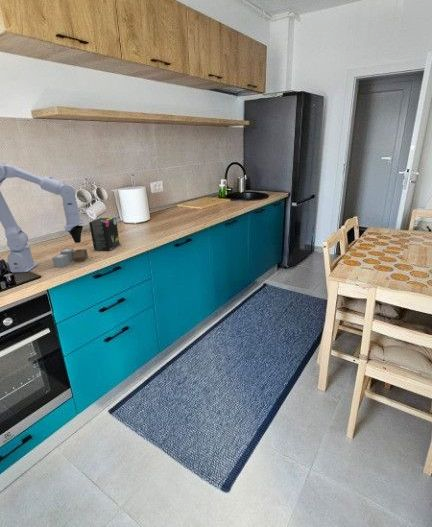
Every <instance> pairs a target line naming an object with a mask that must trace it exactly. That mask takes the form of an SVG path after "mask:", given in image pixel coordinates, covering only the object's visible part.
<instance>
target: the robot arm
mask: <svg viewBox="0 0 432 527" xmlns="http://www.w3.org/2000/svg"><path fill="white" fill-rule="evenodd" d="M13 178H18V179H22V180H24V181H27V182H30V183H33V184H35V185H38V186H39V187H40V189H42V191H46V192H49V193H51V194H54V195H57V196H58V195H59V196H60V197H61V199H62V207H63V211H64V216H65V220H66V224H65V226H64V231H65V232H68V233H69V234H70V236H71V237H72V239H73V242H74V243H75V244H80V243H81V242H82V241H81V240H82V231H83V229H84V226H83V225H84V220H83V218H81V217H80V210H79V206H78V201H77V197H76V189H75V188H74V186H73V185H71V184H70V183H66V182H65V181H59V180H57V179H56V178H54V177H53V176H51V175H49V176H48V175H47V176H46V175H45V176H43V177H42V176H39V175H37V174H34V173H32V172H30V171H27V170H25V169H24V168H23V169H22V168H20V167H17V166H15V165H13V164H6V163H4V162H1V161H0V187H1V186H2V184H3V182H4V181H5V180H6V179H13ZM5 199H6V198H4V196H3V194H2V191H1V190H0V224H1V225H2V227H3V229H4V235H5V238H6V245H7V246H8V248H9V250H10V252H9V254H7V260H6V261H7V262H8V267H9V271H11V272H12V273H27V272H29V271H31V270H33V269H34V268H36V267H37V266H39V263H37V262H34V258H33V253H32V252H31V250H32V249H31V246H30V245H29V244H28V242H29V235H27V233H25V232H24V231H23V229H22V228H21V226H19V224H18V223H17V221H16V219H15V217H14V215H13V213H12V211H11V209H10V208H9V205H8V203H7V201H6V200H5Z"/></svg>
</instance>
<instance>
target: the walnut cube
mask: <svg viewBox="0 0 432 527" xmlns="http://www.w3.org/2000/svg"><path fill="white" fill-rule="evenodd" d="M73 256H74V259H73V261H74V262H75V263H80V261H82V262H86V261H85V260H86V259H87V260H88V259H89V255H88V250H87V248H85V249H84V248H83V249H81V248H80V249H75V250H74V252H73Z"/></svg>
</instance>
